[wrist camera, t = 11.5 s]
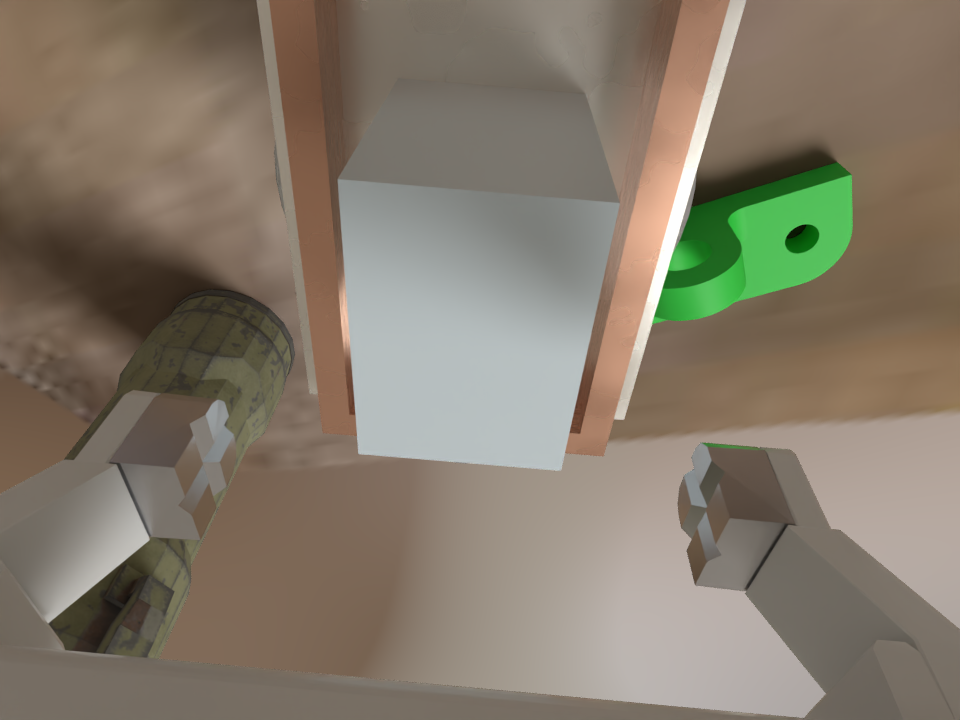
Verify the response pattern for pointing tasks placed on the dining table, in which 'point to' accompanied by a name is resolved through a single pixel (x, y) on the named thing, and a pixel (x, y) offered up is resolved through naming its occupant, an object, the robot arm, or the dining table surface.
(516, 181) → the pale grey rectangular block
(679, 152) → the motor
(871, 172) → the dining table surface
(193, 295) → the thermos
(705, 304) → the mechanical part
